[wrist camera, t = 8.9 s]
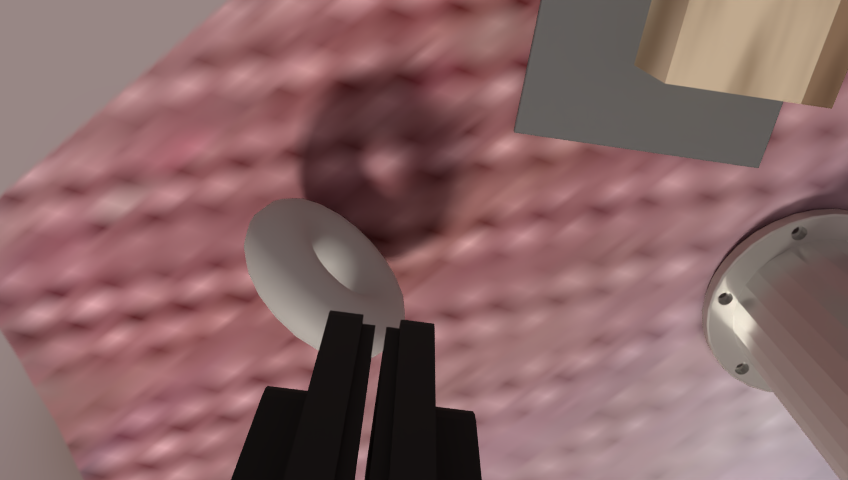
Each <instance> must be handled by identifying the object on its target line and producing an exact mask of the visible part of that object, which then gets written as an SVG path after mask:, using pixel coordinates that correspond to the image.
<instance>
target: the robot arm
mask: <svg viewBox="0 0 848 480" xmlns="http://www.w3.org/2000/svg"><path fill="white" fill-rule="evenodd" d="M363 317H364V315H363V314H355V313H348V312H340V311H332V310H330V312H329V315H328V318H327V322H326V326H325V330H324V333H323V337H322V341H321V344H320V348H319V352H318V355H317V359H316V363H315V366H314V370H313V374H312V377H311V381H310V385H309V388H308V391H304V390H296V389H287V388H279V387H271V386H267V387H266V388H265V390H264V393H263V395H262V397H261V400H260V403H259V406H258V408H257V411H256V414H255V416H254V419H253V422H252V425H251V427H250V430H249V433H248V435H247V438H246V441H245V443H244V446H243V449H242V452H241V454H240V457H239V460H238V462H237V465H236V468H235V470H234V473H233V476H232V479H231V480H355V473H356V466H357V459H358V451H359V444H360V437H361V429H362V422H363V415H364V407H365V400H366V393H367V385H368V378H369V370H370V363H371V356H372V348H373V341H374V334H375V326H376V325H370V324H363ZM702 328H703V332H704V336H705V339H706V343H707V344H708V346H709V348H710V350H711V352H712V354H713V355H714V357H715V358H716V359H717V361H718V362H719V363H720V365H721V366H722V367H723V369H725V370H726V371H727V372H728V373H729V374H730V375H731V376H732V377H734V378H735V379H737V380H739V381H741V382H742V383H744V384H746V385H748V386H750V387H753V388H757V389H760V390H763V391H767V392H773V393H774V394H775V395H776V397H777V398H778V399H779V400H780V402H781V403H782V404H783V406H784V407H785V408H786V410H787V411H788V412H789V414H790V415H791V416H792V418H793V419H794V420H795V421H796V423H797V424H798V425H799V427H800V428H801V429H802V431H803V432H804V433H805V435H806V436H807V437H808V438H809V440H810V441H811V442H812V444H813V445H814V446H815V448H816V449H817V450H818V452H819V453H820V454H821V455H822V457H823V458H824V459H825V461H826V462H827V463H828V465H829V466H830V467H831V469H832V470H833V471H834V472H835V474H836V475H837V476H838V478H839V479H840V480H848V210H842V209H818V210H811V211H806V212H802V213H797V214H793V215H790V216H788V217H785V218H782V219H780V220H777V221H774V222H772V223H771V224H769V225H767V226H765V227H764V228H762V229H760V230H758V231H756V232H755V233H753V234H752V235H751V236H749V237H748V238H747V239H746V240H744V241H743V242H742V243H740V244H739V245H738V246H737V247H736V248H735V249H734V250H733V251H732V252H731V253H730V254H729V255H728V256H727V258H726V259H725V260H724V261H723V262H722V264H721V265H720V267H719V268H718V270H717V271H716V273H715V274H714V276H713V277H712V280H711V282H710V284H709V287H708V289H707V291H706V294H705V298H704V303H703V308H702ZM365 480H482V478H481V468H480V457H479V447H478V437H477V427H476V419H475V414H474V412H473V411H466V410H458V409H450V408H442V407H436V405H435V328H434V324H432V323H424V322H417V321H409V320H401V321H400V326H399V328H393V327H386V333H385V339H384V346H383V353H382V360H381V367H380V374H379V381H378V388H377V395H376V402H375V409H374V416H373V423H372V430H371V437H370V443H369V450H368V457H367V465H366V472H365Z"/></svg>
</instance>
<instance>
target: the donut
mask: <svg viewBox="0 0 848 480" xmlns="http://www.w3.org/2000/svg"><path fill="white" fill-rule="evenodd" d="M244 251H245V256H246V262H247V268H248V272H249V275H250V277H251V279H252V281H253V283H254V286H255V288H256V290H257V292H258V294H259V296H260V297H261V298H262V300H263V301H264V302H265V304H266V305H267V306H268V308H269V309H270V310H271V312H272V313H273V314H274V316H275V317H276V318H277V319H278V320H279V321H280V322H281V323H282V324H283V325H285V326H286V327H287V328H288V329H289V330H290V331H291V332H292V333H293V334H294V335H295V336H296V337H298V338H299V339H301V340H303V341H304V342H306V343H307V344H309V345H310V346H312V347H314V348H315V349H317V350H318V351H319V348H320V344H321V341H322V337H323V333H324V330H325V326H326V322H327V318H328V315H329V312H330V310H332V311H340V312H348V313H355V314H363V315H364V317H363V324H370V325H376V326H375V334H374V341H373V348H372V356H371V358H372V357H374V356H376V355H378V354H379V353H381V352H382V351H383V346H384V339H385V333H386V327H393V328H399V326H400V321H401V320H404V319H405V311H404V301H403V294H402V292H401V289H400V287H399V284H398V282H397V279H396V277H395V275H394V273H393V272H392V270H391V268H390V267H389V265H388V263H387V262H386V260H385V258H384V257H383V256H382V254H381V253H380V252H379V251H378V249H377V248H376V247H375V246H374V244H373V243H372V242H371V241H370V240H369V239H368V238H367V237H366V236H365V235H364V234H363V233H362V232H361V231H360V230H359V229H358V228H357V227H355V226H354V225H353V224H352V223H350V222H349V221H348V220H346V219H345V218H344V217H342V216H341V215H339V214H338V213H336V212H334V211H332V210H330V209H328V208H327V207H325V206H323V205H321V204H319V203H316V202H312V201H309V200H306V199H300V198H291V199H280V200H276V201H273V202H271V203H270V204H269V205H267V206H266V207H265V208H263V209H262V210H261V211H259V212H258V213H257V214H255V215H254V217H253V218H252V220H251V221H250V224H249V227H248V231H247V235H246V238H245V243H244Z"/></svg>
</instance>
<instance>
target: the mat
mask: <svg viewBox="0 0 848 480" xmlns="http://www.w3.org/2000/svg"><path fill="white" fill-rule="evenodd" d="M651 1H652V0H541V2H540V6H539V11H538V16H537V21H536V26H535V31H534V35H533V40H532V45H531V50H530V55H529V60H528V64H527V69H526V74H525V79H524V84H523V89H522V93H521V98H520V103H519V108H518V113H517V118H516V122H515V127H514V132H515V133H522V134H528V135H535V136H542V137H549V138H556V139H563V140H569V141H576V142H583V143H590V144H597V145H604V146H611V147H617V148H624V149H631V150H638V151H645V152H652V153H658V154H665V155H672V156H679V157H686V158H693V159H700V160H706V161H713V162H720V163H727V164H734V165H741V166H747V167H754V168H759V165H760V163H761V160H762V157H763V155H764V152H765V149H766V147H767V144H768V141H769V139H770V136H771V133H772V131H773V128H774V125H775V123H776V120H777V117H778V115H779V112H780V109H781V107H782V104H783V101H778V100H771V99H765V98H758V97H751V96H745V95H738V94H731V93H725V92H718V91H711V90H705V89H698V88H691V87H685V86H678V85H671V84H665V83H663V82H662V81H660V80H658V79H657V78H655V77H653V76H651V75H650V74H648V73H646V72H645V71H643V70H641V69H640V68H638V67H636V66H635V65H634V63H635V60H636V56H637V52H638V49H639V45H640V41H641V38H642V34H643V30H644V27H645V23H646V19H647V16H648V12H649V8H650V4H651Z"/></svg>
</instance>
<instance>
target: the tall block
mask: <svg viewBox="0 0 848 480" xmlns="http://www.w3.org/2000/svg"><path fill="white" fill-rule="evenodd" d="M634 65H635V66H636V67H638V68H640V69H641V70H643V71H645V72H646V73H648V74H650V75H651V76H653V77H655V78H657V79H658V80H660V81H662V82H663V83H665V84H671V85H678V86H685V87H691V88H698V89H705V90H711V91H718V92H725V93H731V94H738V95H745V96H751V97H758V98H765V99H771V100H778V101H785V102H791V103H798V104H805V105H811V106H818V107H825V108H831V109H832V107H833V105H834V102H835V100H836V97H837V95H838V92H839V90H840V87H841V85H842V82H843V80H844V77H845V75H846V73H847V70H848V0H652V1H651V4H650V8H649V12H648V16H647V19H646V23H645V27H644V30H643V34H642V38H641V41H640V45H639V49H638V52H637V56H636V60H635V63H634Z"/></svg>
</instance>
